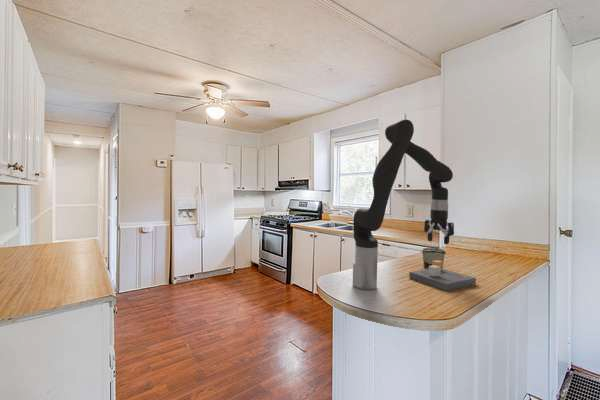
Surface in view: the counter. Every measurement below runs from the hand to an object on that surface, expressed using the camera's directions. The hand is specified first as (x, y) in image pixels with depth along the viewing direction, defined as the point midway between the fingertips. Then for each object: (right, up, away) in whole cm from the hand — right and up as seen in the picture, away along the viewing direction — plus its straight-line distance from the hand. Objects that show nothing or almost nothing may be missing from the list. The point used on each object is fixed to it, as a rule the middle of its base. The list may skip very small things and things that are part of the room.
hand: (438, 242), depth 134 cm
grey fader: (-6, -13, -10) cm, 18 cm away
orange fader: (0, -13, 0) cm, 13 cm away
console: (-2, -17, -7) cm, 18 cm away
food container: (+5, -16, +18) cm, 25 cm away
